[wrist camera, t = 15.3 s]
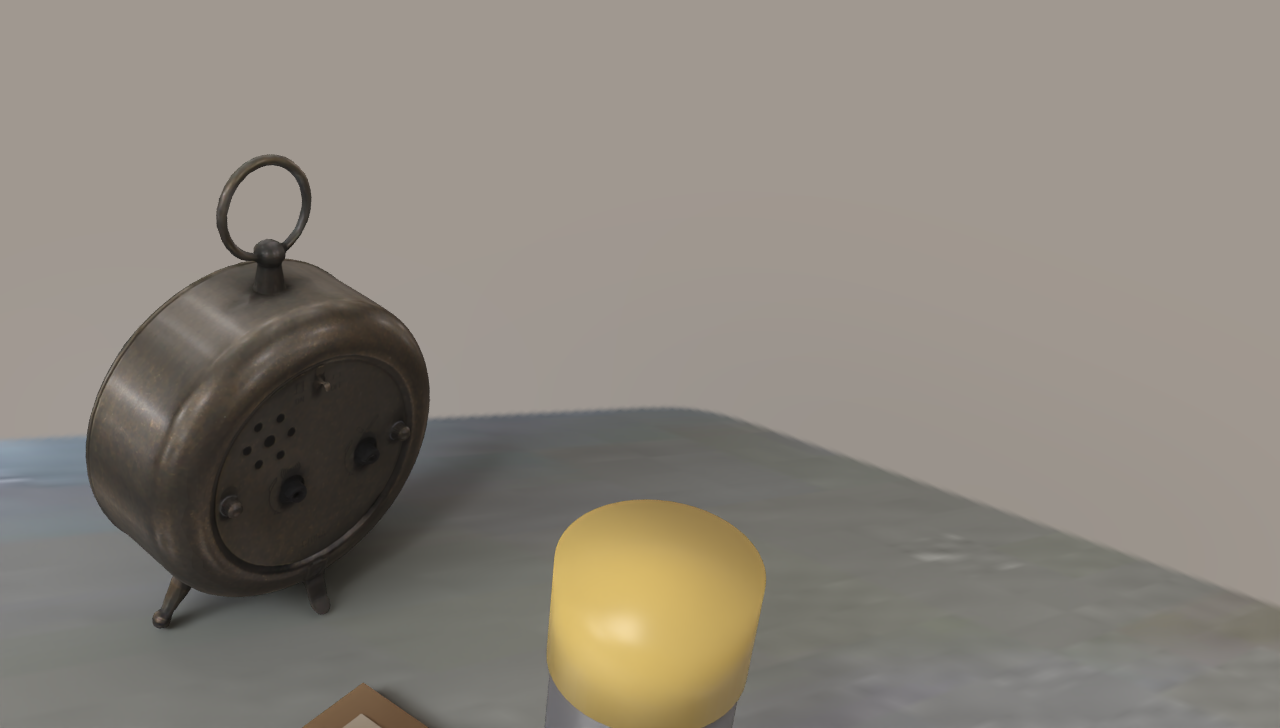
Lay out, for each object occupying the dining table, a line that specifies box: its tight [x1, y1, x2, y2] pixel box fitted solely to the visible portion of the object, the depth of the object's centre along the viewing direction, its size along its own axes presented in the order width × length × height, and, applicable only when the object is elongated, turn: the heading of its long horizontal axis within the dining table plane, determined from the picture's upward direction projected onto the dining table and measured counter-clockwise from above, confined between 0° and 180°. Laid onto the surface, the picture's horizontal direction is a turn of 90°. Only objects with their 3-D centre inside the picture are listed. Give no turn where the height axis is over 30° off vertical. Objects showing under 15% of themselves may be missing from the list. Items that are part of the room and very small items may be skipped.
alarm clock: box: [86, 155, 430, 629], centre depth 39 cm, size 11×5×16 cm, turn 140°
